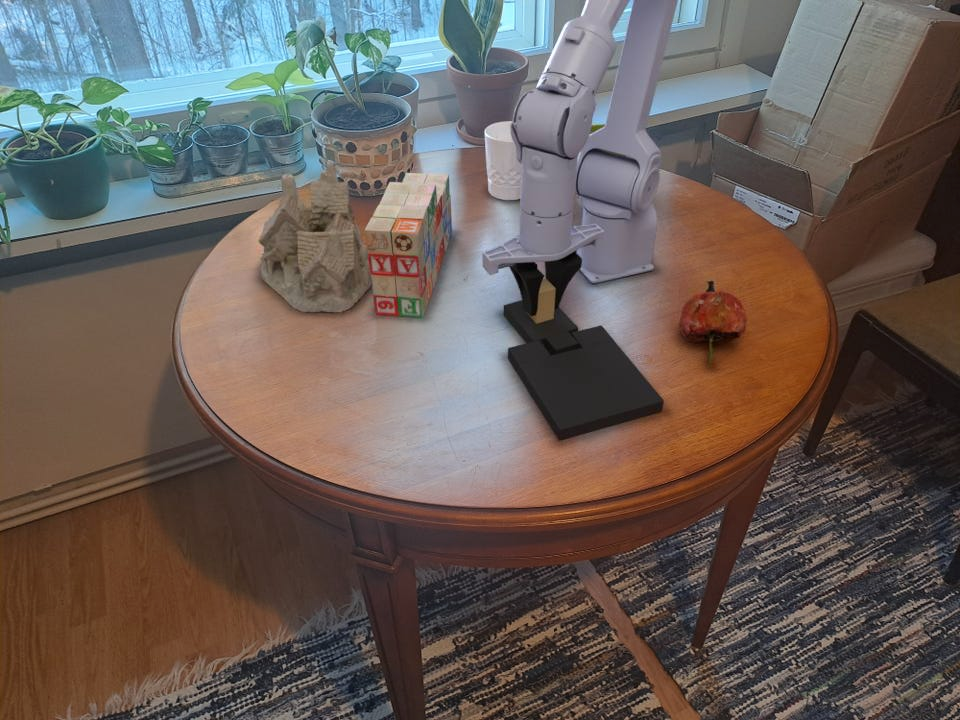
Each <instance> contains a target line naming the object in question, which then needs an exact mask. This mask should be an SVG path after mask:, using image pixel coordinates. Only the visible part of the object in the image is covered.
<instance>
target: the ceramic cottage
mask: <svg viewBox="0 0 960 720" xmlns="http://www.w3.org/2000/svg"><path fill="white" fill-rule="evenodd" d="M280 182H281V191H282V196H283V197H281V199H280V201H279V205H278V207H277V208H276V209H275V210H274V212H273V214H272V215H271V216H270V217H269V218H268V219H267V220H266V221H265V222H264V226H263V229H262V232H261V234H260V235H259V238H258V239H257V240H258V243H259V244H260V245H261V246H262V247H263V253H262V254H261V257H260V261H261V262H260V277H261V280H262V281H264V283H265V284H266V285H268V287H270V288H271V289H272V290H273V291H274V292H276V293H277V294H278V295H280V296H281V298H283V299H284V300H285V301H286V302H287V303H288V304H289V305H290V306H291V308H293V309H295V310H298V311H300V312H302V313H311V314H312V313H314V314H315V313H316V312H317V313H320V312H327V313H333V314H334V313H335V314H336V313H343V312H346V311H348V310H350V309H351V308H352V307H354V306H355V304H357V303H358V302H359V300H360V299H362V297H363V296H364V294H365V293H366V292H367V291H368V290H369V289H370V288H371V287H372V280H371V274H370V268H369V261H368V249H367V245H365V243H364V241H363V238H362V232H361V230H360V228H359V226H358V224H357V223H356V222H355V219H356V214H355V212H354V210H353V206H352V199H351V195H350V192H349V184H348V182H347V181H339V178H338V176H337V173H336V168H335V163H334V161H332V160H327V161H326V167H325V168H323V169H322V170H321V172H320V176H319V179H318V180H310V181H309V182H310V183H309V184H310V185H309V186H310V190H309V194H310V206H309V207H308V206H307V205H306V204H305V203H304V202H303V201H301V200H300V198H299V192H298V188H297V183H296V180H295V177H294V175H293V174H291V173H284V174H282V175H281V181H280Z"/></svg>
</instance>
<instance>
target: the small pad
mask: <svg viewBox="0 0 960 720" xmlns="http://www.w3.org/2000/svg"><path fill="white" fill-rule="evenodd" d="M555 292H556V288H555V287H554V286H553V285H552V284H551V283H550V282H549V281H548V280H547V279H545V278H543V280H542V283H541V286H540V290H539V295H538V310H537V313H536V315H535V316H530V315H529V314H528V313H527V312H526V310H525V309H524V308H523V302H522V299H521V300H518V301H514V302H510V303H507V304H504V305H503V317H504V318H505V319H506V320H507V321H508V323H509V324H510V325H511V327H513V329H514V330H515V331H516V332H517V334H519V336H520V337H521V339H522V340H523V341H524V342H525V344H526V343H530V342H535V341H539V340H540V341H541V343H542V344H543V345H544V347H545V348H546V350H547V351H548V353H549V354H550V356H552V355H556V354H560V353H564V352H568V351H572V350H576V349H578V342H577V341H576V340H575V339H574V338H573V336H572V335H571V333H572V332H576V331H579V327H578V326H577V324H576V323H575V322H574V321H573V320H572V319H571V317H569V316H568V315H567V314H566V313H565V312H564V311H563V309H561V308H560V306H559V307H558V309H555V310H554V305H555Z"/></svg>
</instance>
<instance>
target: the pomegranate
mask: <svg viewBox="0 0 960 720" xmlns="http://www.w3.org/2000/svg"><path fill="white" fill-rule="evenodd" d="M706 283H707V284H708V288H707V289H706V290H705V291H702V292H699V293H696V294H694V295H692V296H691V297H690V298H689V299H688V300H686V302H685V304H684V305H683V307H682V309H681V314H680V317H679V323H678V325H679V328H680V331H681V334H682V335H683V337H684V338H685V339H686V340H687V341H688V342H691V343H698V342H705V341H709V343H708V348H709V366H711V364H712V356H713V352H714V349H713V343H729V342H731V341H733V340H736V339H739V338H741V337H743V335H744V334H745V332H746V331H747V326H748V325H747V324H748V316H747V311H746V308H745V307H744V305H743V303H742V302H741V300H739V298H738V297H736V296H735V295H733V294H731V293H729V292H725V291H723V290H715V287H714V285H715V282H714V280H710V281H706Z"/></svg>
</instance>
